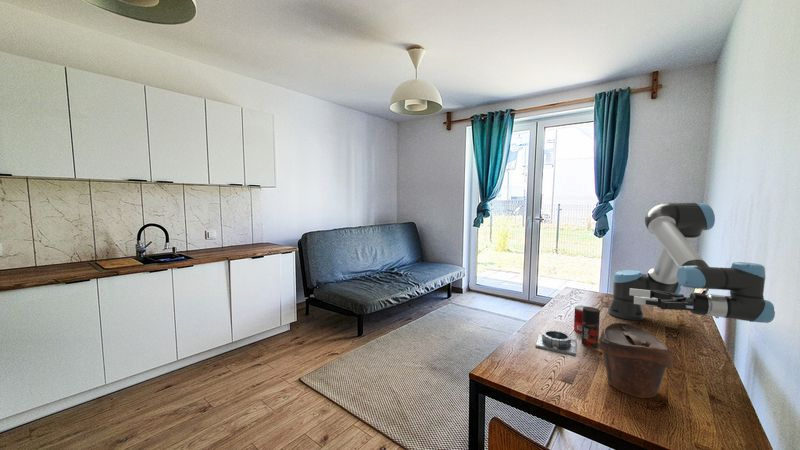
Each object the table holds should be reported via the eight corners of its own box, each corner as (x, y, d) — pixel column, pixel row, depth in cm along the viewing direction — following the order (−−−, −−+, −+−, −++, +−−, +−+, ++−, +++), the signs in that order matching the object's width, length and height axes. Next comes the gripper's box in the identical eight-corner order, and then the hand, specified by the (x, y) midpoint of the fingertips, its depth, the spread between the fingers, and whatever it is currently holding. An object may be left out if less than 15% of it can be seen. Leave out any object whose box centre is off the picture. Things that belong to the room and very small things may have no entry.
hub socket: (539, 334, 138) (540, 326, 137) (575, 341, 131) (576, 332, 130) (535, 347, 126) (536, 337, 125) (575, 355, 119) (575, 345, 118)
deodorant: (579, 344, 128) (581, 309, 127) (583, 340, 132) (584, 305, 131) (596, 349, 124) (598, 312, 123) (599, 344, 128) (601, 309, 127)
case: (651, 413, 86) (655, 350, 85) (583, 377, 104) (585, 324, 103) (686, 398, 93) (690, 340, 92) (617, 367, 111) (619, 318, 110)
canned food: (597, 336, 137) (598, 311, 136) (577, 334, 138) (578, 310, 138) (590, 329, 144) (591, 306, 143) (571, 327, 146) (572, 304, 145)
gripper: (718, 326, 99) (635, 314, 110) (695, 305, 120) (627, 297, 131) (720, 303, 98) (636, 293, 109) (696, 286, 120) (628, 279, 131)
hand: (631, 295), depth 120 cm, fingers open, 13 cm apart
